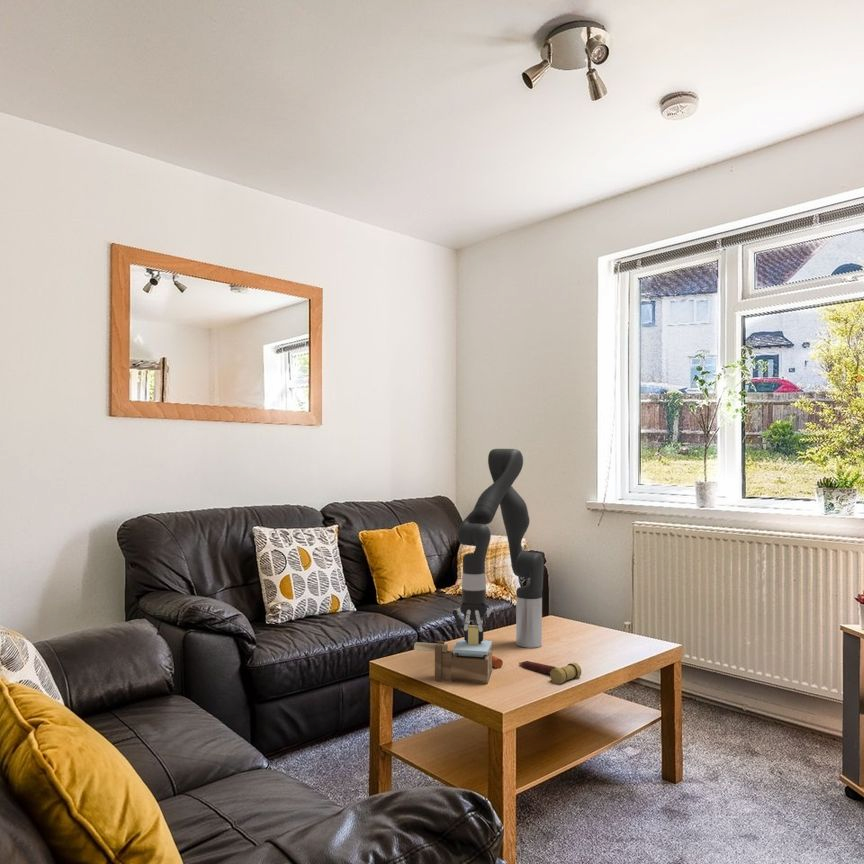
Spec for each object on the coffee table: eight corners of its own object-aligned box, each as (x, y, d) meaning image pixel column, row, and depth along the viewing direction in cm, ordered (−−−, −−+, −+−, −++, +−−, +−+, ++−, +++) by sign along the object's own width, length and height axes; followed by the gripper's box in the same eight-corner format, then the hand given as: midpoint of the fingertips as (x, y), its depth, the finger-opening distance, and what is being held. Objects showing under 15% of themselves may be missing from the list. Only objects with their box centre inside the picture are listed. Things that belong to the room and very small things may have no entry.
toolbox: (442, 668, 215) (442, 634, 216) (492, 671, 212) (492, 637, 213) (434, 680, 203) (434, 645, 204) (487, 684, 200) (487, 648, 200)
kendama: (489, 658, 214) (458, 637, 232) (491, 675, 215) (460, 654, 233) (505, 652, 217) (473, 632, 235) (507, 669, 217) (475, 648, 235)
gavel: (508, 659, 216) (528, 653, 223) (509, 673, 216) (529, 667, 222) (561, 670, 201) (581, 663, 207) (562, 686, 200) (582, 678, 207)
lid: (458, 645, 215) (458, 623, 215) (491, 647, 212) (491, 625, 213) (452, 656, 203) (452, 632, 203) (487, 658, 201) (487, 634, 201)
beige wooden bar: (415, 648, 208) (415, 642, 209) (447, 650, 206) (447, 644, 206) (414, 650, 206) (414, 644, 206) (446, 652, 204) (446, 646, 204)
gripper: (497, 585, 213) (497, 640, 213) (453, 583, 216) (453, 638, 215) (494, 590, 206) (494, 647, 205) (449, 588, 209) (449, 644, 208)
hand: (473, 642), depth 210 cm, fingers closed on lid, 3 cm apart
